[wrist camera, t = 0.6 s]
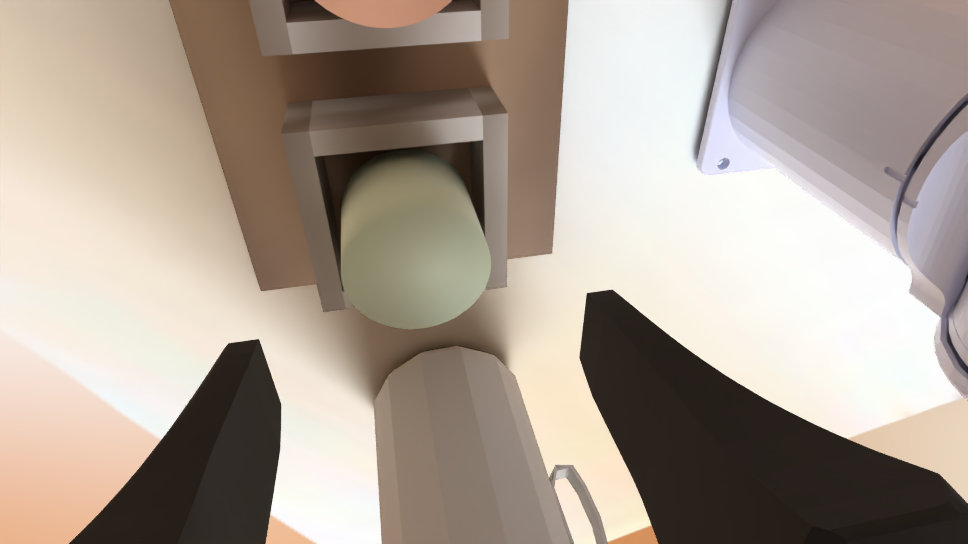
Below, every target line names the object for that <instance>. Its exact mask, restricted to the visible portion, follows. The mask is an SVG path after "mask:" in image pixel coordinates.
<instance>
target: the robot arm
mask: <svg viewBox="0 0 968 544" xmlns="http://www.w3.org/2000/svg"><path fill="white" fill-rule="evenodd" d="M723 158H725V159H724V161H723V163H721V164H720V165H718V163H719V161H720V160H721V159H723ZM697 168H698V170H699V171H700V172H701V173H702V174H704V175H708V176H710V175H719V174H728V173H737V172H745V171H754V170H763V169H772V168H775V169H776V170H778V171H779V172H780V173H782V174H783V175H784V176H786V177H787V178H788V179H790V180H791V181H793V182H794V183H795V184H797V185H798V186H799V187H801V188H802V189H803V190H805V191H806V192H808V193H809V194H810V195H812V196H813V197H814V198H816V199H817V200H818V201H820V202H821V203H823V204H824V205H825V206H827V207H828V208H829V209H831V210H832V211H833V212H835V213H836V214H838V215H839V216H840V217H842V218H843V219H844V220H846V221H847V222H848V223H850V224H851V225H853V226H854V227H855V228H857V229H858V230H859V231H861V232H862V233H863V234H865V235H866V236H868V237H869V238H870V239H872V240H873V241H874V242H876V243H877V244H878V245H880V246H881V247H883V248H884V249H885V250H887V251H888V252H889V253H891V254H892V255H893V256H895V257H896V258H898V259H899V260H900V261H902V262H903V263H904V264H906V265H907V266H909V268H910V270H911V272H912V283H911V286H910V289H909V293H910V294H911V295H913V296H914V297H915V298H916V299H918V300H919V301H920V302H922V303H923V304H924V305H925V306H927V307H928V308H929V309H931V310H932V311H933V312H934V313H936V314H937V315H938V316H940V317H941V319H940V321H939V323H938V325H937V328H936V332H935V336H934V344H935V353H936V356H937V359H938V362H939V364H940V367H941V368H942V370H943V372H944V373H945V375H946V376H947V378H948V380H949V381H950V382H951V383H952V385H953V386H954V387H955V388H956V389H957V390H958V392H959V393H960V394H961V395H962V396H963V397H964V398H965V399H966V400H968V0H733V1H732V6H731V10H730V15H729V19H728V24H727V28H726V33H725V37H724V42H723V46H722V51H721V55H720V60H719V64H718V69H717V74H716V78H715V83H714V87H713V92H712V96H711V101H710V105H709V110H708V114H707V119H706V123H705V128H704V132H703V137H702V141H701V146H700V150H699V155H698V159H697ZM580 361H581V364H582V367H583V370H584V373H585V376H586V379H587V382H588V385H589V388H590V390H591V393H592V396H593V398H594V400H595V403H596V405H597V407H598V409H599V411H600V413H601V415H602V417H603V419H604V421H605V423H606V425H607V427H608V429H609V431H610V433H611V435H612V437H613V439H614V441H615V443H616V445H617V447H618V449H619V451H620V454H621V456H622V458H623V460H624V462H625V464H626V466H627V468H628V470H629V472H630V474H631V476H632V478H633V480H634V482H635V484H636V487H637V489H638V491H639V493H640V496H641V498H642V501H643V503H644V506H645V509H646V511H647V514H648V517H649V519H650V522H651V525H652V527H653V530H654V533H655V535H656V538H657V541H658V543H659V544H968V503H966V502H965V500H964V499H963V498H962V497H961V496H960V495H959V494H958V493H957V492H956V491H955V490H954V489H953V488H952V487H951V486H950V485H949V484H948V483H947V481H946V480H944V479H943V477H942V476H940V475H939V474H938V473H935V472H933V471H930V470H927V469H924V468H921V467H919V466H916V465H913V464H910V463H908V462H905V461H902V460H899V459H897V458H894V457H891V456H888V455H885V454H883V453H879V452H877V451H875V450H872V449H870V448H867V447H865V446H862V445H860V444H857V443H855V442H853V441H851V440H848V439H846V438H844V437H841V436H839V435H836V434H834V433H832V432H830V431H828V430H825V429H823V428H821V427H819V426H817V425H815V424H812V423H810V422H808V421H806V420H804V419H802V418H800V417H798V416H796V415H794V414H792V413H790V412H788V411H786V410H784V409H782V408H781V407H779V406H777V405H775V404H773V403H771V402H769V401H768V400H766V399H764V398H762V397H761V396H759V395H757V394H755V393H754V392H752V391H750V390H749V389H747V388H745V387H744V386H742V385H740V384H738V383H737V382H735V381H734V380H732V379H730V378H729V377H727V376H726V375H724V374H723V373H721V372H720V371H718V370H717V369H715V368H714V367H712V366H711V365H709V364H708V363H706V362H705V361H703V360H702V359H700V358H699V357H698V356H696V355H695V354H693V353H692V352H691V351H689V350H688V349H687V348H685V347H684V346H682V345H681V344H680V343H678V342H677V341H676V340H675V339H673V338H672V337H671V336H669V335H668V334H667V333H665V332H664V331H663V330H662V329H660V328H659V327H658V326H657V325H655V324H654V323H653V322H652V321H650V320H649V319H648V318H647V317H645V316H644V315H643V314H642V313H640V312H639V311H638V310H637V309H636V308H634V307H633V306H632V305H631V304H630V303H628V302H627V301H626V300H625V299H623V298H622V297H621V296H620V295H618V294H617V293H616V292H615V291H613V290H607V291H599V292H592V293H587V297H586V306H585V314H584V323H583V332H582V341H581V350H580ZM280 437H281V402H280V400H279V397H278V394H277V391H276V388H275V385H274V382H273V379H272V376H271V373H270V370H269V367H268V364H267V361H266V358H265V356H264V353H263V350H262V347H261V344H260V341H259V339H257V340H250V341H242V342H235V343H229V344H228V345H227V346H226V347H225V348H224V350H223V351H222V353H221V355H220V356H219V358H218V359H217V361H216V362H215V364H214V365H213V367H212V368H211V370H210V371H209V373H208V375H207V376H206V378H205V379H204V381H203V382H202V384H201V385H200V387H199V388H198V390H197V391H196V393H195V394H194V396H193V397H192V398H191V400H190V401H189V403H188V404H187V406H186V407H185V408H184V410H183V411H182V413H181V414H180V415H179V417H178V418H177V420H176V421H175V422H174V424H173V425H172V427H171V428H170V429H169V431H168V432H167V433H166V435H165V436H164V437H163V439H162V440H161V441H160V442H159V444H158V445H157V446H156V448H155V449H154V450H153V451H152V453H151V454H150V455H149V457H148V458H147V459H146V460H145V462H144V463H143V464H142V465H141V467H140V468H139V469H138V470H137V472H136V473H135V474H134V475H133V476H132V477H131V479H130V480H129V481H128V482H127V483H126V484H125V486H124V487H123V488H122V489H121V490H120V491H119V492H118V494H117V495H116V496H115V497H114V498H113V499H112V500H111V501H110V502H109V503H108V504H107V506H106V507H105V508H104V509H103V510H102V511H101V512H100V513H99V514H98V515H97V516H96V517H95V518H94V519H93V520H92V522H90V523H89V524H88V525H87V526H86V528H84V530H82V532H81V533H79V534H78V535H77V536H76V537H75V539H73V540H72V541H71V542H70V543H69V544H265V543H266V537H267V530H268V524H269V518H270V511H271V505H272V499H273V493H274V486H275V480H276V473H277V466H278V460H279V453H280Z"/></svg>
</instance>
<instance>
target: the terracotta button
mask: <svg viewBox="0 0 968 544" xmlns="http://www.w3.org/2000/svg"><path fill="white" fill-rule="evenodd" d="M315 1H316V2H317V3H319V4H320V5H321V6H323V7H324V8H325V9H327V10H328V11H330V12H332V13H334V14H335V15H337V16H339V17H341V18H343V19H345V20H348V21H350V22H353V23H356V24H360V25H363V26H368V27H375V28H396V27H403V26H408V25H411V24H415V23H418V22H420V21H422V20H425V19H427V18H429V17H431V16H432V15H434V14H436V13H437V12H439V11H440V10H442V9H443V8H444V7H445V6H447V5H448V4H449V3H450V2H451V1H452V0H315Z"/></svg>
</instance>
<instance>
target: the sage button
mask: <svg viewBox="0 0 968 544" xmlns="http://www.w3.org/2000/svg"><path fill="white" fill-rule="evenodd" d="M490 272H491V255H490V251H489V247H488V245H487V242H486V239H485V237H484V234H483V231H482V228H481V226H480V223H479V220H478V218H477V215H476V212H475V210H474V207H473V204H472V201H471V199H470V196H469V193H468V191H467V188H466V186H465V183H464V181H463V179H462V178H461V176H460V174H459V173H458V172H457V171H456V170H455V168H454V167H452V166H451V165H450V164H449V163H448V162H446V161H445V160H443V159H442V158H440V157H438V156H436V155H434V154H431V153H428V152H425V151H420V150H411V149H403V150H394V151H389V152H386V153H382V154H380V155H378V156H375V157H373V158H372V159H370V160H368V161H367V162H365V163H364V164H363V165H361V166H360V167H359V168H358V169H357V170H356V171H355V172H354V173H353V175H352V176H351V178H350V179H349V181H348V183H347V184H346V186H345V189H344V192H343V195H342V200H341V279H342V285H343V288H344V291H345V293H346V295H347V297H348V299H349V300H350V302H351V303H352V304H353V305H354V307H355V308H356V309H357V310H358V311H360V312H361V313H362V314H363V315H365V316H366V317H368V318H369V319H371V320H373V321H375V322H377V323H379V324H382V325H385V326H389V327H394V328H400V329H421V328H428V327H433V326H436V325H440V324H443V323H445V322H447V321H450V320H452V319H454V318H456V317H457V316H459V315H460V314H462V313H463V312H465V311H466V310H467V309H468V308H470V307H471V306H472V305H473V304H474V303H475V302H476V301H477V299H478V298H479V297H480V295H481V294H482V292H483V291H484V289H485V287H486V285H487V282H488V280H489V276H490Z"/></svg>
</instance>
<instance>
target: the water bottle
mask: <svg viewBox="0 0 968 544" xmlns="http://www.w3.org/2000/svg"><path fill="white" fill-rule="evenodd" d="M374 416H375V433H376V450H377V467H378V485H379V502H380V519H381V536H382V544H574V542H573V539H572V536H571V534H570V531H569V528H568V525H567V522H566V520H565V517H564V514H563V511H562V508H561V506H560V503H559V500H558V497H557V494H556V492H555V489H554V486H555V480H557V479H560V478H564V477H566V478H567V479H568V481H569V482H570V484H571V485H572V487H573V488H574V490H575V491H576V493H577V494H578V496H579V499H580V501H581V503H582V505H583V507H584V510H585V512H586V514H587V516H588V519H589V521H590V523H591V525H592V528H593V532H594V536H595V540H596V543H597V544H608V542H607V539H606V535H605V531H604V528H603V524H602V520H601V517H600V515H599V512H598V510H597V508H596V506H595V504H594V502H593V500H592V497H591V495H590V493H589V491H588V489H587V487H586V485H585V483H584V482H583V480H582V479H581V477H580V475H579V474H578V472H577V471H576V469H575V468H574V466H573V465H555V467H554V469H553V471H552V473H551V475H550V477H548V474H547V471H546V468H545V465H544V462H543V459H542V456H541V453H540V450H539V447H538V444H537V441H536V438H535V435H534V432H533V429H532V426H531V423H530V420H529V417H528V414H527V411H526V408H525V405H524V402H523V399H522V395H521V392H520V389H519V386H518V383H517V380H516V377H515V375H514V374H513V373H512V372H511V371H510V370H509V369H508V368H507V367H506V366H505V365H504V364H503V363H502V362H501V361H500V360H499V359H498V358H497V357H496V356H494V355H492V354H489V353H486V352H482V351H477V350H473V349H468V348H464V347H460V346H453V347H447V348H442V349H436V350H431V351H425V352H421V353H419V354H418V355H416V356H415V357H413V358H412V359H410V360H409V361H407V362H405V363H404V364H402V365H401V366H399V367H398V368H396V369H394V370H393V371H392V372H391V373H390V374H389V375H388V376H387V378H386V380H385V382H384V384H383V386H382V388H381V390H380V392H379V393H378V395H377V397H376V399H375V401H374Z"/></svg>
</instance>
